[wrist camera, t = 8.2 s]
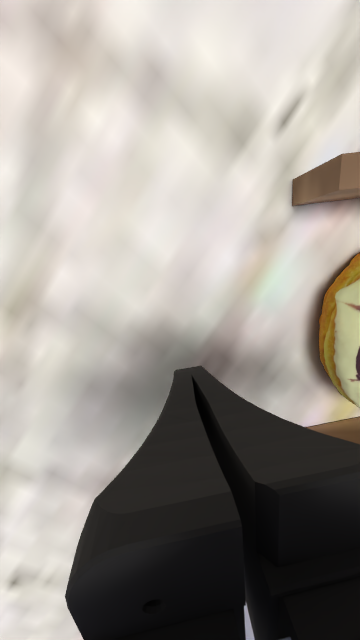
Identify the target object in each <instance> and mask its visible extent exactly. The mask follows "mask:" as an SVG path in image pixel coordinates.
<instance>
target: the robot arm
mask: <svg viewBox="0 0 360 640" xmlns="http://www.w3.org/2000/svg"><path fill="white" fill-rule="evenodd" d="M65 598H66V602H67V606H68V609H69V611H70V613H71V615H72V617H73V619H74V621H75V623H76V625H77V627H78V629H79V631H80V633H81V635H82V637H83V639H84V640H360V444H357V443H354V442H351V441H347V440H344V439H340V438H337V437H333V436H330V435H326V434H323V433H320V432H317V431H314V430H311V429H308V428H305V427H302V426H300V425H297V424H294V423H292V422H289V421H287V420H284V419H282V418H280V417H278V416H275V415H273V414H271V413H269V412H267V411H265V410H263V409H261V408H259V407H257V406H255V405H253V404H252V403H250V402H248V401H246V400H245V399H243V398H241V397H240V396H238V395H237V394H235V393H234V392H232V391H231V390H230V389H228V388H227V387H226V386H224V385H223V384H222V383H220V382H219V381H218V380H217V379H216V378H214V377H213V376H212V375H211V374H210V373H209V372H208V371H206V370H205V369H204V368H203V367H202V366H197V367H191V368H185V369H179V370H176V371H175V372H174V379H173V383H172V387H171V390H170V393H169V396H168V399H167V401H166V403H165V406H164V408H163V410H162V412H161V414H160V416H159V418H158V420H157V422H156V424H155V426H154V427H153V429H152V431H151V432H150V434H149V435H148V437H147V438H146V440H145V441H144V443H143V444H142V446H141V447H140V448H139V450H138V451H137V452H136V454H135V455H134V456H133V457H132V459H131V460H130V461H129V462H128V464H127V465H126V466H125V468H124V469H123V470H122V471H121V472H120V473H119V474H118V476H117V477H116V478H115V479H114V480H113V481H112V482H111V483H110V484H109V485H108V486H107V487H106V488H105V489H104V490H103V491H102V492H101V493H100V494H99V495H98V496H97V497H96V498H95V500H94V502H93V504H92V507H91V509H90V512H89V514H88V517H87V519H86V522H85V525H84V528H83V531H82V533H81V536H80V539H79V542H78V546H77V549H76V553H75V557H74V561H73V565H72V569H71V573H70V577H69V581H68V585H67V590H66V594H65Z"/></svg>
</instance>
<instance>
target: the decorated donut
mask: <svg viewBox="0 0 360 640" xmlns="http://www.w3.org/2000/svg"><path fill="white" fill-rule="evenodd" d="M319 324H320V329H319V350H320V360H321V363H322V364H323V365H324V368H325V369H324V370H325V371H326V372H327V374H328V376H329V377H330V378H331V380H332V382H333V384H334V385H335V386H336V388H337V389H338V391H339V392H340V394H341V395H343V396H344V397H345V398H346V399H348V400H349V401H350V402H352V403H353V404H355V405H356V406H357V407H359V408H360V253H359V254H357V255H356V256H355V257H354V258H353V259H352V260H351V262H350V264H349V266H348V267H346V268H345V269H344V270H343V271H342V273H341V274H340V275H339V276H338V277H337V278H336V280H335V281H334V283H333V284H332V285H331V286H330V287H329V289H328V290H327V292H326V294H325V297H324V302H323V306H322V314H321V316H320V318H319Z"/></svg>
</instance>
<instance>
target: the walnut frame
mask: <svg viewBox="0 0 360 640" xmlns="http://www.w3.org/2000/svg"><path fill="white" fill-rule="evenodd" d="M353 198H360V152H356V153H346V154H341V155H339V156H337V157H335V158H333V159H331V160H330V161H328V162H326V163H324V164H322V165H320V166H318V167H316V168H314V169H312V170H310V171H308V172H307V173H305V174H303V175H301V176H299V177H297V178H295V179H293V197H292V206H296V205H304V204H312V203H320V202H328V201H337V200H345V199H353ZM306 428H308V429H311V430H314V431H317V432H320V433H323V434H326V435H330V436H333V437H337V438H340V439H344V440H347V441H351V442H354V443H357V444H360V417H357V418H351V419H346V420H341V421H336V422H331V423H326V424H321V425H316V426H311V427H306Z"/></svg>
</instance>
